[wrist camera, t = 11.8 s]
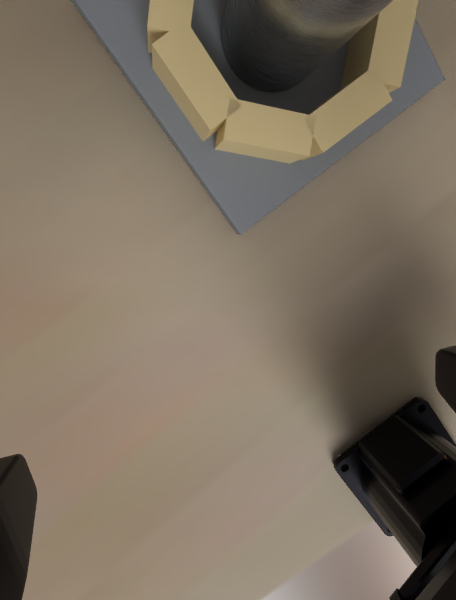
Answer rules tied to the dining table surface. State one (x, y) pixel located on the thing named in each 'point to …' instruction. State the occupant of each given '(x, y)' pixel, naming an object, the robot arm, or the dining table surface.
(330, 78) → the nut plate
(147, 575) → the dining table surface
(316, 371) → the dining table surface
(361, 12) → the shiny metal cylinder
